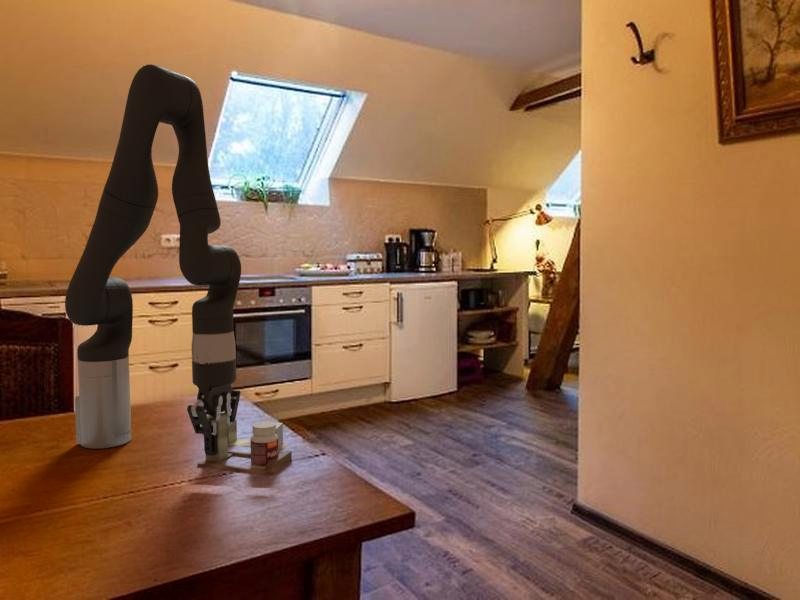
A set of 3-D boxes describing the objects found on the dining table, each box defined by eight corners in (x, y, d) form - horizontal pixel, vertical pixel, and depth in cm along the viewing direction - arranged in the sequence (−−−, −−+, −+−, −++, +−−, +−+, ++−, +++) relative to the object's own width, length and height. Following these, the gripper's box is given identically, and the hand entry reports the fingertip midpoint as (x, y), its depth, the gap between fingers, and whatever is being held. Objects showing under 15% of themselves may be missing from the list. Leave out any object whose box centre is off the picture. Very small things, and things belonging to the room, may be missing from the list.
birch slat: (214, 447, 119) (213, 423, 118) (224, 442, 122) (223, 418, 122) (281, 455, 115) (280, 429, 114) (289, 449, 118) (289, 424, 118)
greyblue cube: (256, 448, 116) (256, 428, 115) (263, 441, 120) (263, 422, 119) (276, 449, 115) (276, 428, 115) (283, 442, 119) (282, 422, 119)
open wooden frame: (197, 469, 106) (196, 419, 105) (221, 456, 113) (220, 409, 113) (271, 479, 102) (271, 427, 101) (291, 464, 109) (291, 415, 109)
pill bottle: (272, 477, 104) (271, 429, 103) (246, 474, 105) (245, 427, 104) (282, 467, 109) (282, 421, 108) (257, 465, 109) (257, 420, 109)
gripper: (217, 350, 116) (220, 438, 117) (171, 363, 102) (174, 462, 103) (252, 351, 113) (254, 441, 115) (209, 365, 100) (212, 466, 101)
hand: (216, 451), depth 109 cm, fingers closed on open wooden frame, 3 cm apart
